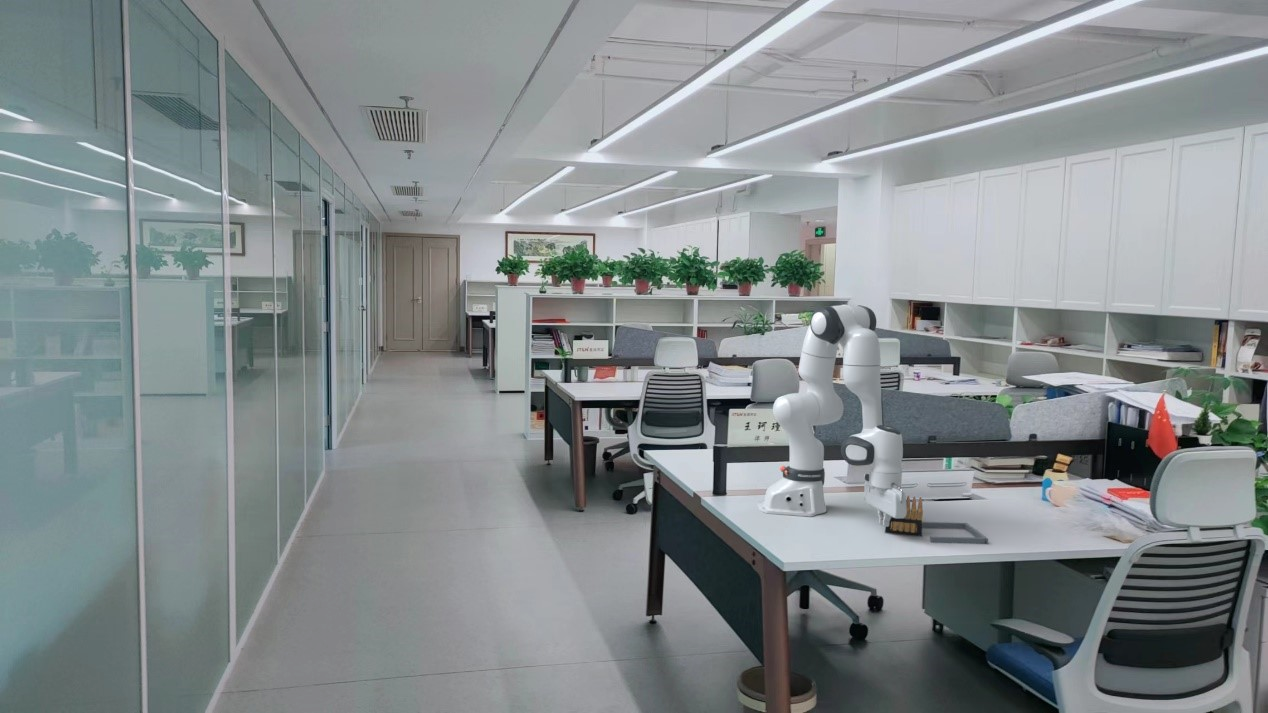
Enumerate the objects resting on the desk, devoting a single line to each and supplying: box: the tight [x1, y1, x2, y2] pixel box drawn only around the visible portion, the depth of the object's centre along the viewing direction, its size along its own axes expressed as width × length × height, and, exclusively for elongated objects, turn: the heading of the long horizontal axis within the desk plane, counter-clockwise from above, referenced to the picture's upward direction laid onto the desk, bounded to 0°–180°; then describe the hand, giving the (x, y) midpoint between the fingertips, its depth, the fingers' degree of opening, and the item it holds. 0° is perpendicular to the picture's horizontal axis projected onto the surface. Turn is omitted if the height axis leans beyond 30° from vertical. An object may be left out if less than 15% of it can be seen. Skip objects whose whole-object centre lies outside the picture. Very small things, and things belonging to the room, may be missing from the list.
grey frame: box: [922, 521, 989, 545], centre depth 259 cm, size 16×17×2 cm
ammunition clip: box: [884, 495, 924, 537], centre depth 259 cm, size 11×2×12 cm, turn 73°
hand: (884, 525), depth 259 cm, fingers closed
